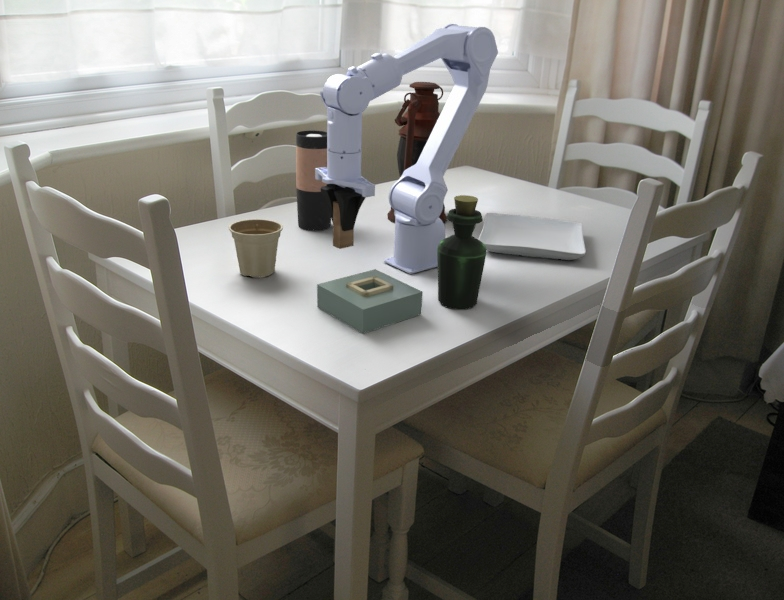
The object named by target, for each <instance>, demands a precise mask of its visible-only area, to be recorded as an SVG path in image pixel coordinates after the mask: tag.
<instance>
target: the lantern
mask: <svg viewBox="0 0 784 600" xmlns="http://www.w3.org/2000/svg"><path fill="white" fill-rule="evenodd" d="M409 88H411V89H413V90H414V92H407V93H406V94H405V95H404V96H403V103H402V106H401V109H400V110H399V112H398V114H397V115H396V117H395V119H394V123H395V124H396V125H397V126H398V127H401V128H400V129H399V130H398V134H397V135H398V136H400V137H399V141H398V147H397V152H396V159H397V169H398V175H399V178H401V176H402V174H403V172H404V171H405V170H406V169H408V168H410V167H411V166H413V165H415V164H416V163H417V161H418V159H419V157H420V155H421V153H422V151H423V149H424V147H425V145H426V143H427V141H428V139H429V137H430V135H431V133H432V130H433V128H434V126H435V124H436V122H437V120H438V118H439V116H440V114H441V113H440V112H439V107H440V102H439V101H440V100H441V99H442V98H443V95H444V90H443V88H442V87H441V86H440V85H439V84H437V83H436V82H431V81H414V82H412V83H410V84H409ZM435 90H440V91H441V94H440V96H439V94H437V93H435ZM407 96H409V98H407ZM405 111H406V112H405ZM422 186H424V187H425V185H422ZM445 210H446V207H445V203H443V210H442V212H441V214H440V216H439V218H440V219H441V220H442V222H443V223H444V225H445V224H447V221H448V220H447V219H446V218H447V214H446V213H445V212H446V211H445ZM387 220H388V221H389V222H390V223H393V224H395V216H394V209H393V208H392V207H391V206H390V210H389V211H388V213H387Z"/></svg>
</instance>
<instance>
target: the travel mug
mask: <svg viewBox="0 0 784 600" xmlns="http://www.w3.org/2000/svg"><path fill="white" fill-rule="evenodd" d="M295 134H296V135H295V146H296V147H295V150H296V151H295V169H296V170H295V171H296V172H295V175H296V176H295V177H296V180H295V181H296V183H295V184H296V185H295V186H296V187H295V188H296V189H295V190H296V204H297V205H296V207H297V208H296V209H297V211H296V212H297V226H298V227H299V228H300V229H301V230H304V231H308V232H309V231H311V232H320V231H325V230H328V229H330V228H331V226H332V225H331V224H332V219H331V214H330V211H329V207H328V204H327V202H326V200H325V197H324V196H323V194H322V192H321V187H323V186H327V183H324V182H322V179H321V180H317V179H315V168H321V167H326V168H327V131H324V130H315V129H314V130H312V129H311V130H310V129H309V130H302V131H297V132H296V133H295Z"/></svg>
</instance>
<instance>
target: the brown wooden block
mask: <svg viewBox="0 0 784 600" xmlns="http://www.w3.org/2000/svg"><path fill="white" fill-rule="evenodd" d="M354 230H355V228H354V229H353V230H348V231H343V230H342V228H341V221H340V210H339V205H338V202H337V201H335V202H333V223H332V246H333V247H334V248H337V249H339V250H340V249H341V250H342V249H345V248H349V247H353V246H354V242H355V241H354Z"/></svg>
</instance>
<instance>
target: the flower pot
mask: <svg viewBox="0 0 784 600" xmlns="http://www.w3.org/2000/svg"><path fill="white" fill-rule="evenodd" d="M283 229H284V225H283V224H282V223H280V222H278V221H275V220H271V219H262V218H250V219H249V218H248V219H243V220H238V221H234V222H232V223H230V224H229V226H228V230H229V232H230V233H231V237H232V239H233V241H234V247H235V251H236V257H237V261H238V268H239V269H238V270H239V273H240V274H241V275H242V276H245V277H247V276H248V277H249V276H250V277H252V278H253V279H254V278H258V279H259V278H264V277H269V276H271V275H272V274H274V273H275V271H276V261H277V253H278V247H279V239H280V237H281V232H282V231H283Z"/></svg>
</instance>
